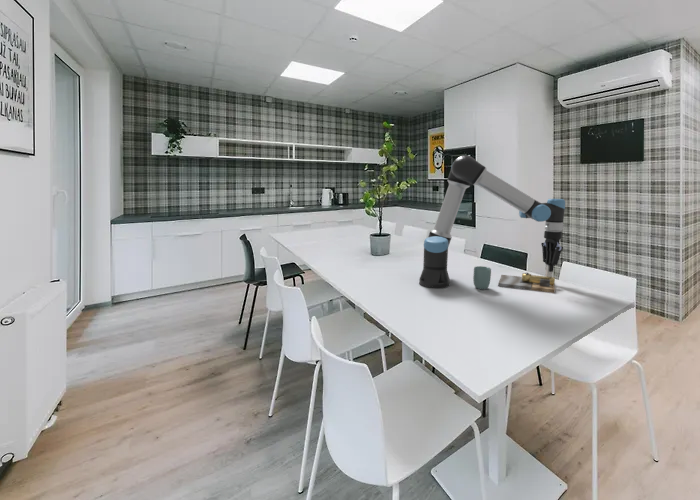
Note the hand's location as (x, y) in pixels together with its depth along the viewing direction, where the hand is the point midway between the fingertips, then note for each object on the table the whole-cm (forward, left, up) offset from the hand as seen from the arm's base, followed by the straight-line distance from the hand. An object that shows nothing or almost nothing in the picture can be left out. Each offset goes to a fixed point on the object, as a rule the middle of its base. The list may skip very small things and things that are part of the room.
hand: (548, 277), depth 174 cm
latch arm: (-5, -7, -1) cm, 9 cm away
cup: (-29, -22, -4) cm, 36 cm away
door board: (-10, -6, -3) cm, 12 cm away
